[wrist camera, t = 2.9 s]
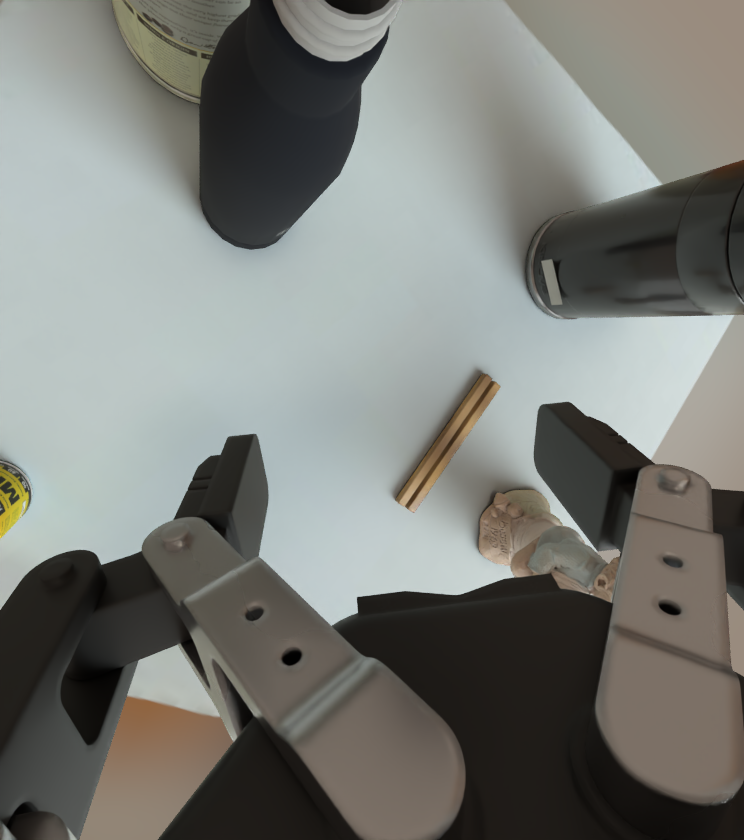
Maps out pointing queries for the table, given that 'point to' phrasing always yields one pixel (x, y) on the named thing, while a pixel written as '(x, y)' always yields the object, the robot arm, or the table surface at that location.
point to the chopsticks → (447, 443)
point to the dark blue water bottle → (283, 110)
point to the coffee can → (176, 38)
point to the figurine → (542, 544)
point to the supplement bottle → (13, 495)
